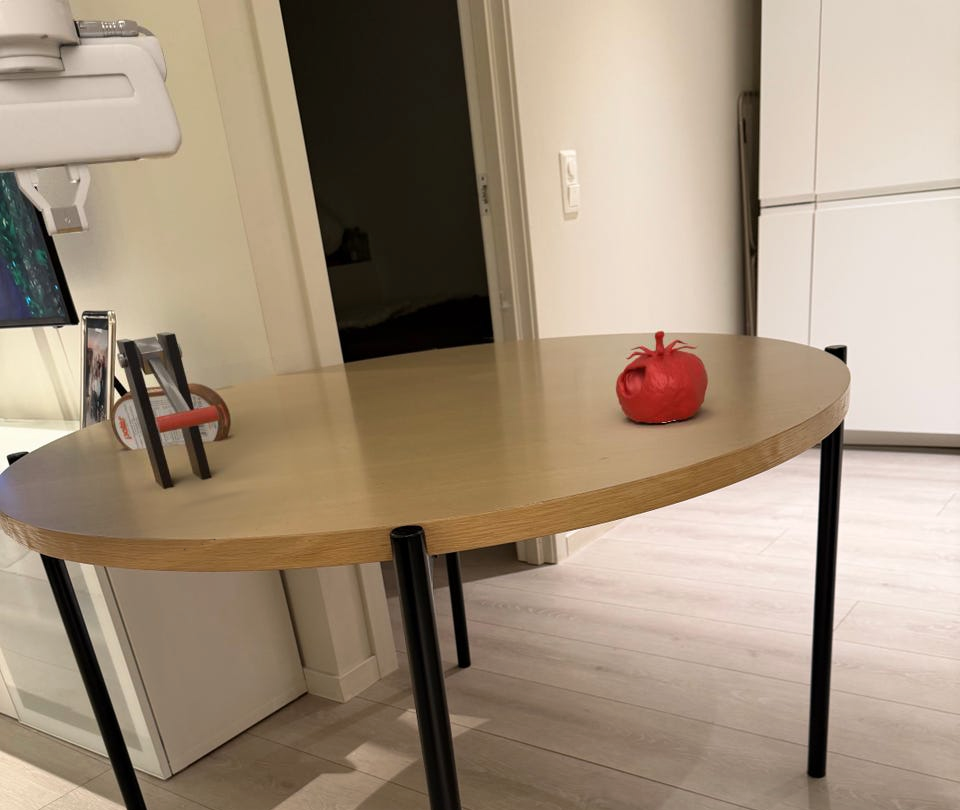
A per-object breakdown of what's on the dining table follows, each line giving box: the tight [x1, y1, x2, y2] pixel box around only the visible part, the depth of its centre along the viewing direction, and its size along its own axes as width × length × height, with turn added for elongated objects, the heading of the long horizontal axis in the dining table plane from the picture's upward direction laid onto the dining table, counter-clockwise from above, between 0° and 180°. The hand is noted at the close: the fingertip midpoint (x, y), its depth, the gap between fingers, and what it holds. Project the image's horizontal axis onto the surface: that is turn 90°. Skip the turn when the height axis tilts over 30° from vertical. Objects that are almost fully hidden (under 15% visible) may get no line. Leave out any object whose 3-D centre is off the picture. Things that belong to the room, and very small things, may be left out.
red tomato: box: [615, 330, 709, 424], centre depth 97 cm, size 10×10×9 cm
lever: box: [132, 336, 219, 433], centre depth 86 cm, size 14×6×2 cm, turn 29°
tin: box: [110, 382, 232, 451], centre depth 112 cm, size 15×3×8 cm, turn 84°
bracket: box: [115, 331, 213, 490], centre depth 91 cm, size 10×8×16 cm
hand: (69, 233), depth 69 cm, fingers closed
